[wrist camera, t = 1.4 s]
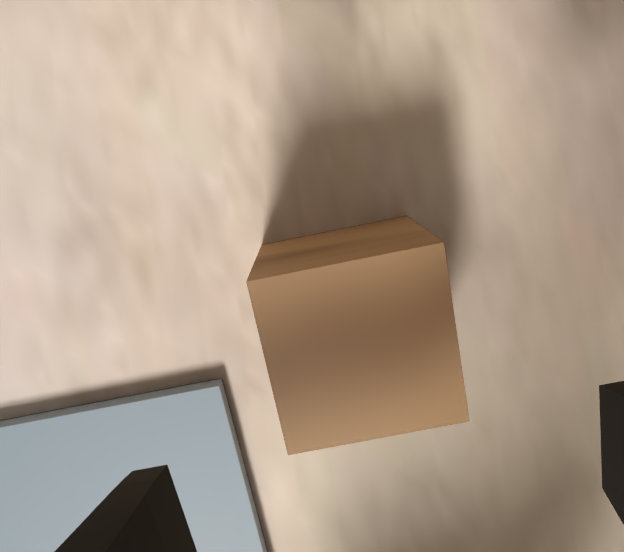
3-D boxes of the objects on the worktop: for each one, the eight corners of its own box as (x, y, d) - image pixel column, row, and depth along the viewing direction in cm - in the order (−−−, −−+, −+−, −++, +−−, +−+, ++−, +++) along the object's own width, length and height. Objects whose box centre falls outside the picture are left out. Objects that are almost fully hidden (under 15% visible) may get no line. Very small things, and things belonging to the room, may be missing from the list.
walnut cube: (427, 350, 19) (469, 421, 14) (292, 377, 19) (288, 455, 15) (406, 215, 18) (443, 242, 13) (261, 244, 18) (246, 281, 13)
